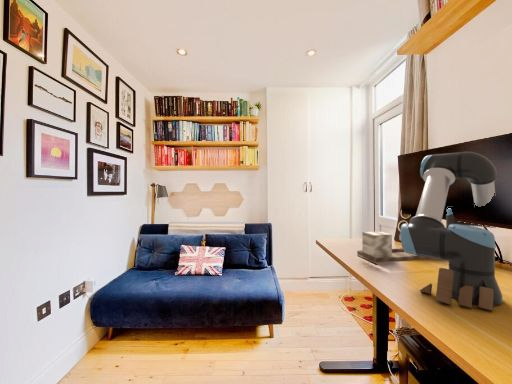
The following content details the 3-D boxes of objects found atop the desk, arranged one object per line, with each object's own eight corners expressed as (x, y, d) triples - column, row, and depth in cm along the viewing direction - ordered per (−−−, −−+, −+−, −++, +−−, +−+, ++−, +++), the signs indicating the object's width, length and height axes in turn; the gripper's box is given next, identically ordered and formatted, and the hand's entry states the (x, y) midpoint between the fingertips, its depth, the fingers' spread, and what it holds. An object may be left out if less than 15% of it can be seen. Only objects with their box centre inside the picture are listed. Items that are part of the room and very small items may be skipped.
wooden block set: (491, 317, 72) (493, 282, 75) (493, 316, 66) (495, 278, 69) (420, 296, 85) (423, 267, 87) (416, 294, 79) (420, 263, 81)
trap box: (375, 264, 115) (375, 258, 115) (357, 256, 129) (357, 250, 129) (453, 259, 122) (453, 253, 122) (427, 252, 137) (427, 246, 137)
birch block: (373, 259, 118) (373, 235, 117) (362, 254, 127) (362, 232, 126) (391, 258, 119) (391, 234, 119) (379, 253, 128) (379, 231, 128)
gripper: (451, 246, 123) (410, 247, 119) (428, 240, 136) (391, 242, 132) (451, 231, 123) (410, 232, 119) (428, 227, 136) (391, 228, 132)
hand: (400, 237), depth 125 cm, fingers closed
